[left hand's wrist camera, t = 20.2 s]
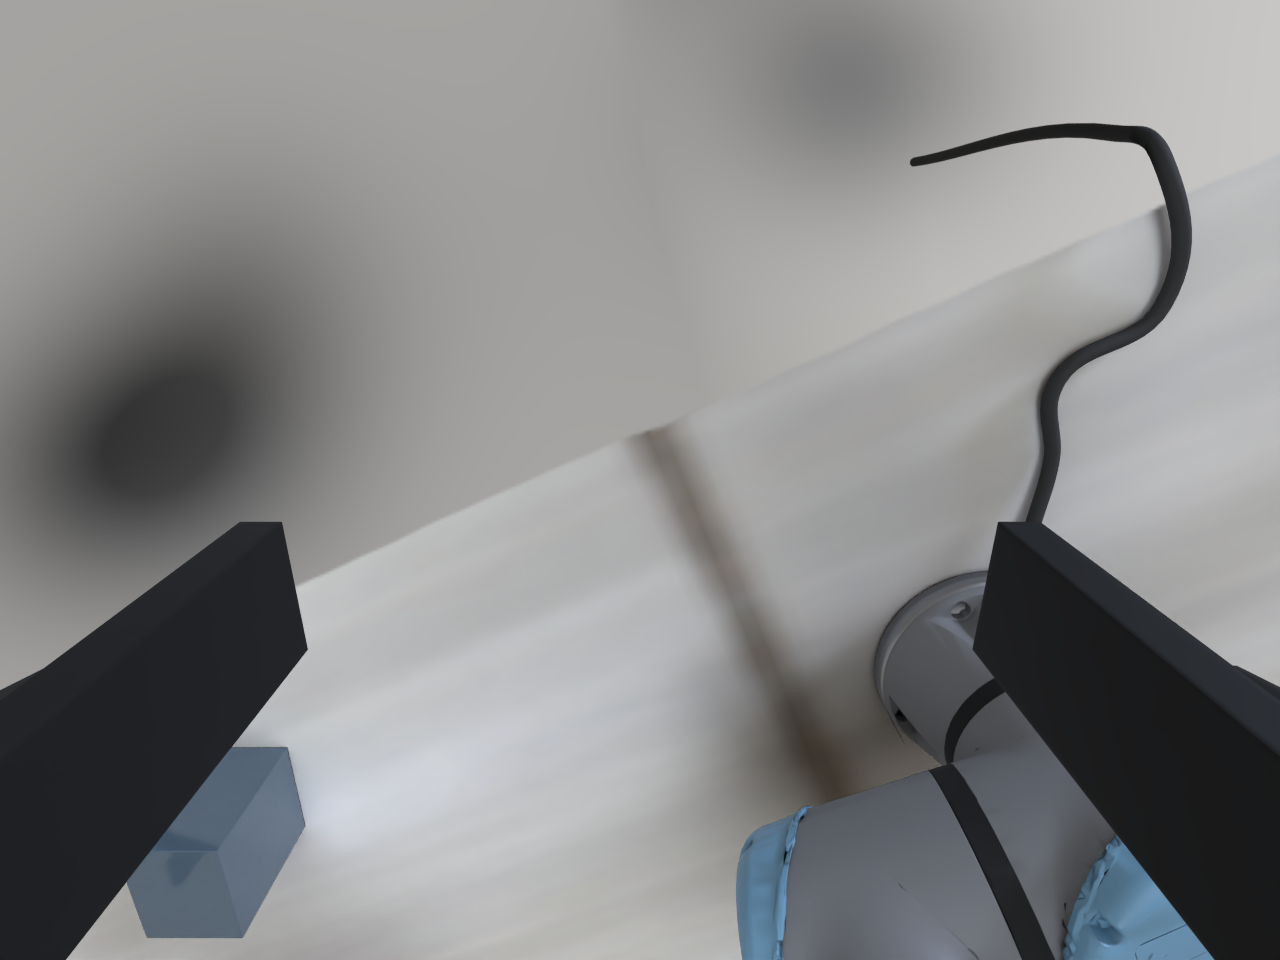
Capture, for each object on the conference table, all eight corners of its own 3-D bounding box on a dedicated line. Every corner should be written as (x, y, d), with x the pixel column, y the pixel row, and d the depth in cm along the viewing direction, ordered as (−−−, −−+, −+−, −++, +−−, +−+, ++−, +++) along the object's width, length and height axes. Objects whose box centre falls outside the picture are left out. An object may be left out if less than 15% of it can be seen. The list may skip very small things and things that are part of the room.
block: (224, 826, 58) (146, 938, 49) (201, 747, 55) (114, 851, 46) (305, 826, 58) (242, 938, 49) (287, 747, 55) (217, 851, 46)
